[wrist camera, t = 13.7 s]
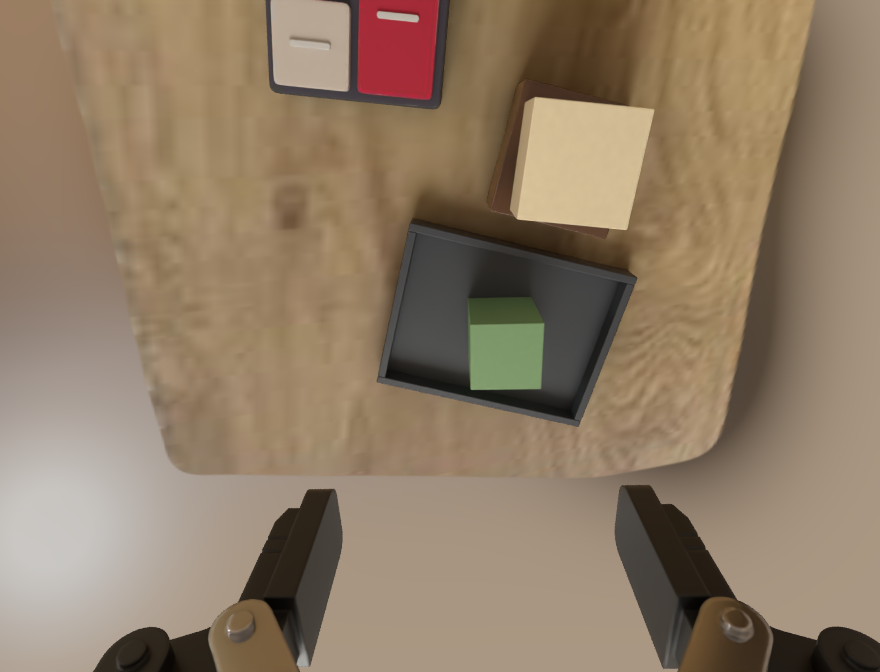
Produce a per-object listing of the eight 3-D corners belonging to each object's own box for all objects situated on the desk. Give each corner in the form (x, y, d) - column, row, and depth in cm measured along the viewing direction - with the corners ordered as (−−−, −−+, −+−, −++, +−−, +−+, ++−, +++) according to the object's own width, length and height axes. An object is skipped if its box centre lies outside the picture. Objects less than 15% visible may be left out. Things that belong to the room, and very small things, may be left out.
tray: (412, 218, 37) (410, 222, 36) (628, 270, 38) (638, 277, 37) (380, 371, 42) (376, 382, 40) (573, 414, 43) (578, 427, 41)
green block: (467, 298, 39) (470, 324, 33) (531, 296, 39) (544, 323, 33) (468, 356, 41) (470, 390, 35) (529, 354, 41) (541, 389, 35)
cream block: (525, 101, 30) (534, 96, 27) (630, 112, 30) (655, 108, 27) (509, 210, 33) (516, 219, 29) (607, 219, 33) (627, 230, 29)
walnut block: (516, 85, 34) (525, 78, 30) (627, 114, 34) (651, 111, 30) (486, 202, 37) (490, 210, 33) (588, 228, 37) (605, 239, 33)
